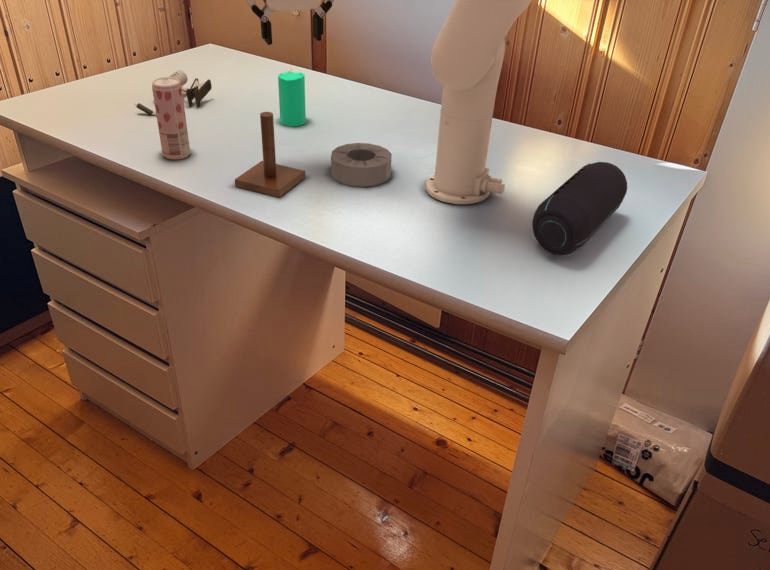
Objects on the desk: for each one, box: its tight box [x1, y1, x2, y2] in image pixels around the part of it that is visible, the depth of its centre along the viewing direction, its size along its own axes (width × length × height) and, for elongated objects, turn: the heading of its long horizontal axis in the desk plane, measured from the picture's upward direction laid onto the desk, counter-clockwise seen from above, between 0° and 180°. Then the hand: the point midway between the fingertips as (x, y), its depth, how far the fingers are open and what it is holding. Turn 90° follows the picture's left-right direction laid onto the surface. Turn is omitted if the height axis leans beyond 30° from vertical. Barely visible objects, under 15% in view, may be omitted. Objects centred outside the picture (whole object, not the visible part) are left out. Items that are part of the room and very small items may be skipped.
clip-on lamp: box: [133, 69, 213, 116], centre depth 169 cm, size 12×6×18 cm
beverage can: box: [151, 76, 191, 160], centre depth 144 cm, size 6×6×15 cm
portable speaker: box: [531, 161, 628, 256], centre depth 125 cm, size 25×10×10 cm, turn 145°
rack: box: [234, 111, 306, 198], centre depth 136 cm, size 10×10×14 cm
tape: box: [330, 142, 393, 188], centre depth 143 cm, size 12×12×4 cm
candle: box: [277, 70, 307, 127], centre depth 161 cm, size 6×6×12 cm
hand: (292, 40), depth 135 cm, fingers open, 9 cm apart
